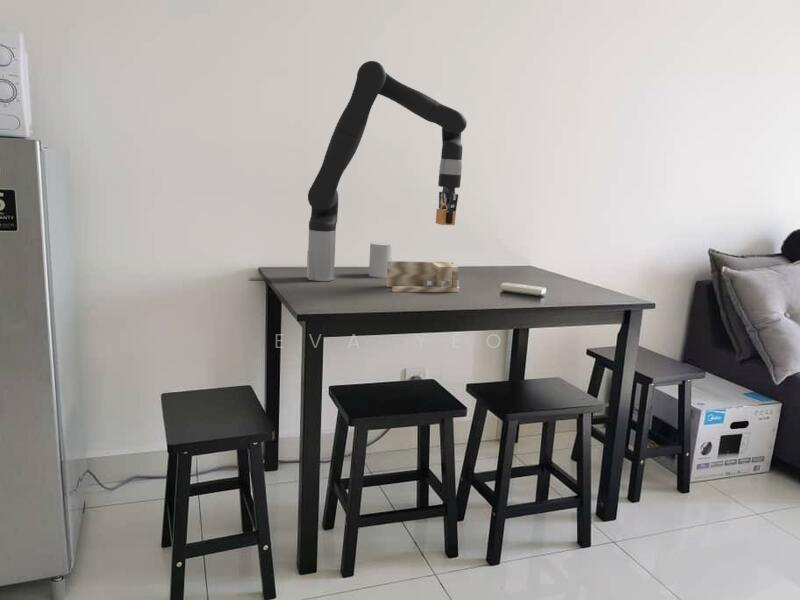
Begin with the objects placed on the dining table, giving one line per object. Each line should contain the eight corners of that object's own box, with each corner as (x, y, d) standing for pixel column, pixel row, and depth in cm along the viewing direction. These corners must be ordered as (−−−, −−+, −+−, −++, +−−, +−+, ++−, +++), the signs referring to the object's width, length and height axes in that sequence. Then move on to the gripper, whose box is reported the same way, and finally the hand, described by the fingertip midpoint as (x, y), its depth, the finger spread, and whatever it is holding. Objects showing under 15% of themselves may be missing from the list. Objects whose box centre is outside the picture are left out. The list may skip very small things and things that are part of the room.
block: (441, 224, 215) (442, 210, 214) (435, 223, 220) (436, 208, 219) (454, 225, 217) (455, 210, 216) (448, 223, 221) (449, 209, 220)
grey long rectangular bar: (426, 291, 210) (427, 281, 210) (423, 289, 213) (423, 279, 212) (458, 290, 215) (459, 280, 214) (454, 289, 218) (455, 279, 217)
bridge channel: (393, 291, 205) (394, 266, 204) (386, 285, 215) (387, 261, 213) (459, 291, 211) (461, 267, 210) (449, 286, 221) (451, 262, 219)
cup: (391, 274, 237) (393, 242, 234) (389, 278, 229) (391, 245, 226) (370, 272, 238) (372, 241, 235) (367, 276, 230) (368, 244, 227)
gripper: (467, 174, 209) (463, 225, 212) (453, 173, 222) (449, 221, 226) (446, 173, 207) (442, 224, 211) (433, 171, 220) (429, 220, 224)
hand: (446, 222), depth 218 cm, fingers closed on block, 5 cm apart
